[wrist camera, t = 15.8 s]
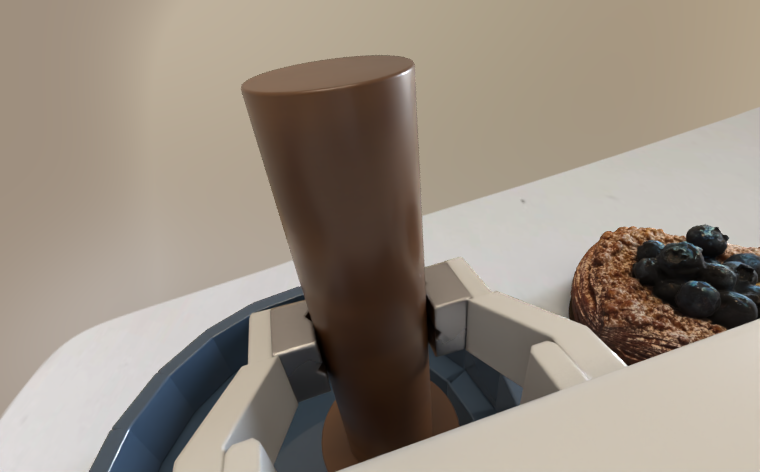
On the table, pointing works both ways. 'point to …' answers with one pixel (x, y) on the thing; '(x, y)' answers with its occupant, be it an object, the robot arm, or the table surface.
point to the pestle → (355, 241)
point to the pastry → (664, 289)
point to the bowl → (304, 437)
